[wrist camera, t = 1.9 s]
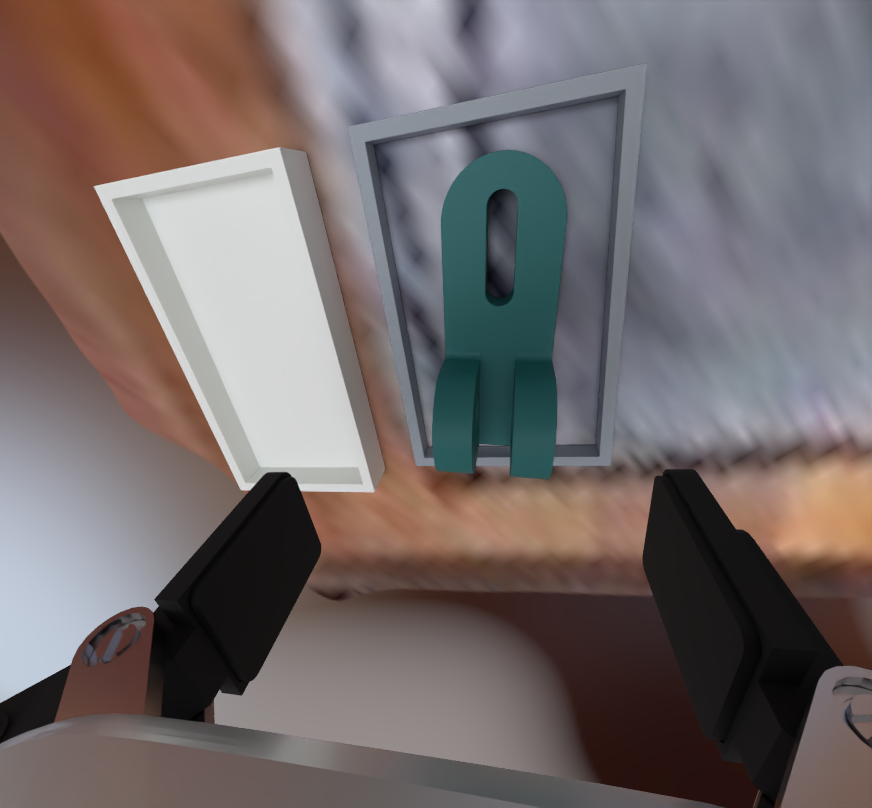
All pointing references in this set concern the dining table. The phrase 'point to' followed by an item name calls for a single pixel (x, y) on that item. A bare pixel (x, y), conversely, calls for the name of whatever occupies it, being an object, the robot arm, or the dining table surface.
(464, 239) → the bracket
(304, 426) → the parts tray
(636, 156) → the grey rectangular frame
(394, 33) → the dining table surface
